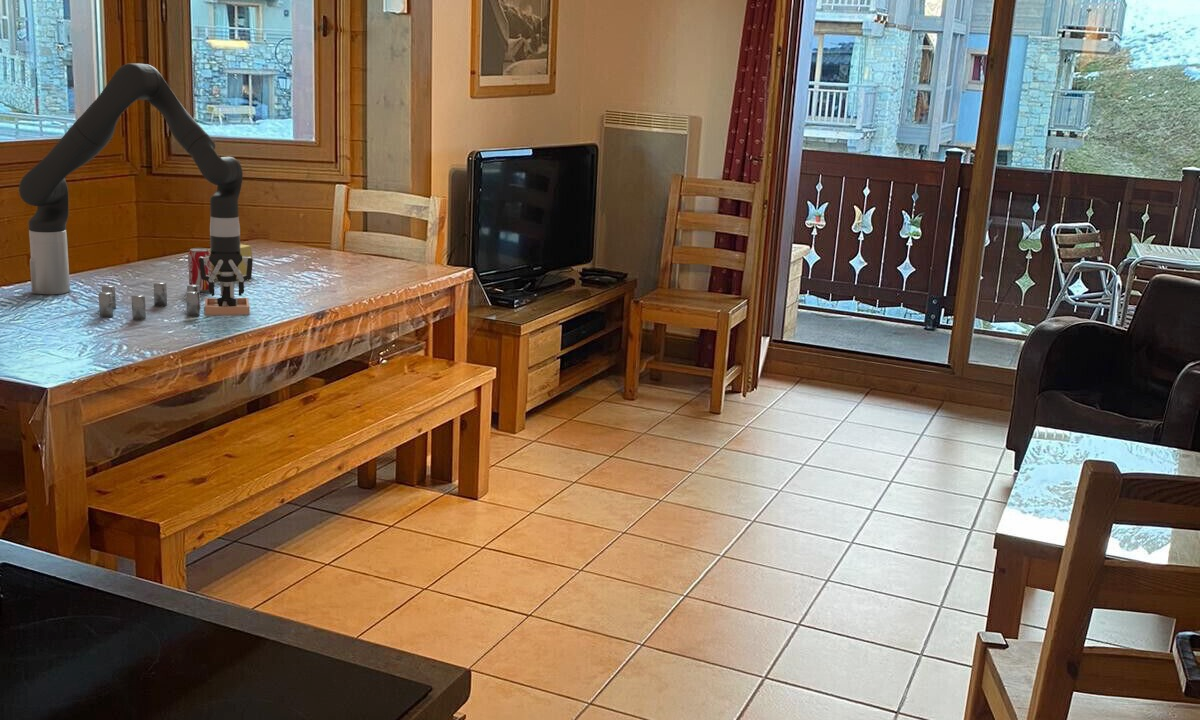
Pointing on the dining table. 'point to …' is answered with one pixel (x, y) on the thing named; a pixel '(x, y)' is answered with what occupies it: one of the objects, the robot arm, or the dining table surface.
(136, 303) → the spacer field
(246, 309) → the tray
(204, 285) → the beverage can
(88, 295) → the dining table surface
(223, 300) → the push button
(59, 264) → the robot arm
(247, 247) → the cheese
